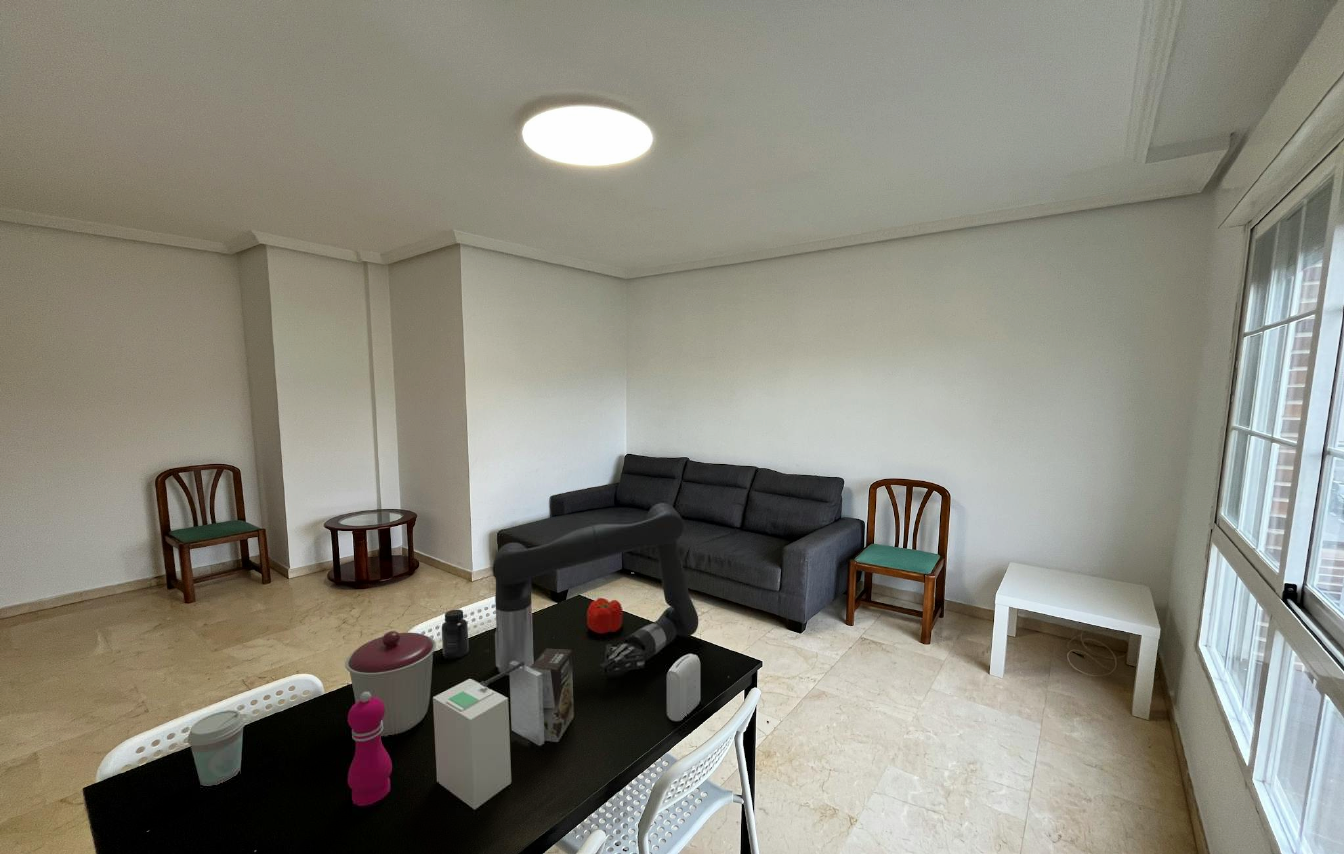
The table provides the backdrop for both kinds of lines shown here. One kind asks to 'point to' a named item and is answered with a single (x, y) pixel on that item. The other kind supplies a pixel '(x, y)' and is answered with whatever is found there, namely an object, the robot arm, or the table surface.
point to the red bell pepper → (604, 616)
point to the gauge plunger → (525, 701)
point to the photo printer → (683, 687)
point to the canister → (395, 677)
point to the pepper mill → (368, 752)
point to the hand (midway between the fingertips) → (601, 670)
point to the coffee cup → (217, 746)
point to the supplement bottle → (454, 635)
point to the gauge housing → (472, 742)
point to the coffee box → (556, 691)
